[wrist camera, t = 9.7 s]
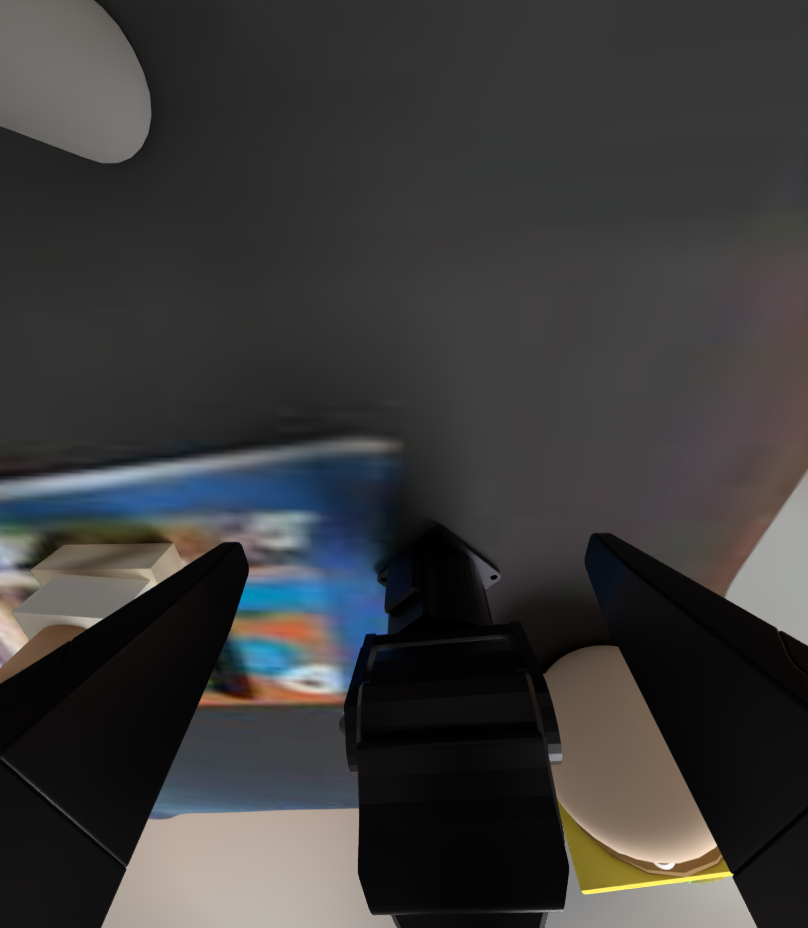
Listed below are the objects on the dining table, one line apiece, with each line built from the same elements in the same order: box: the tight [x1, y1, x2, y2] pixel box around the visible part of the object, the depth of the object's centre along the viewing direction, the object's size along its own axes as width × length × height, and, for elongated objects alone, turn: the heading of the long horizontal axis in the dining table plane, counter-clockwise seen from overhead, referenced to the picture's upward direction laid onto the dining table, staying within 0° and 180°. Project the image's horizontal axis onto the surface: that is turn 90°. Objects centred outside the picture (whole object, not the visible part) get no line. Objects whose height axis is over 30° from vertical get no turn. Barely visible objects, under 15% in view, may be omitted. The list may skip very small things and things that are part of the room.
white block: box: [12, 574, 153, 641], centre depth 23 cm, size 6×6×3 cm
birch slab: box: [31, 543, 184, 587], centre depth 26 cm, size 8×8×3 cm
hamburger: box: [543, 645, 733, 894], centre depth 25 cm, size 12×8×12 cm
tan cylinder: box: [0, 625, 86, 683], centre depth 20 cm, size 5×5×5 cm
